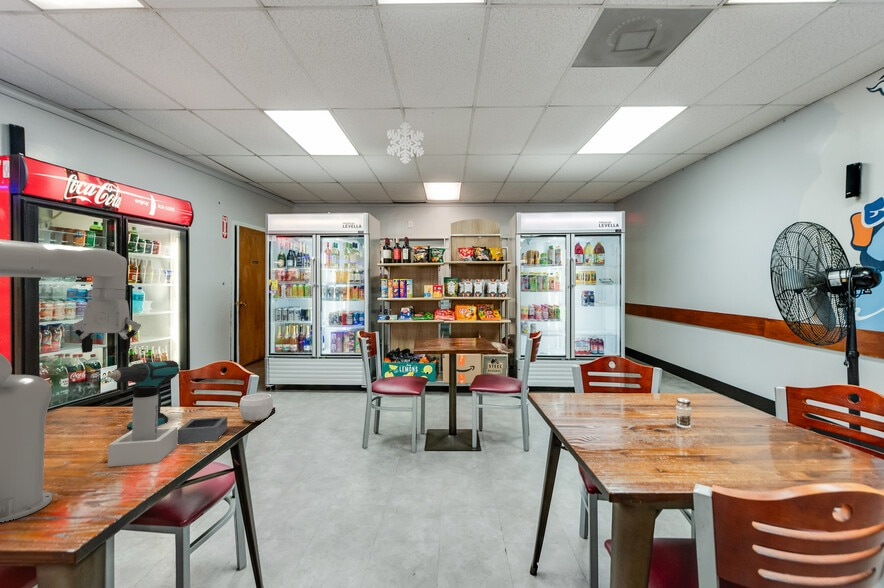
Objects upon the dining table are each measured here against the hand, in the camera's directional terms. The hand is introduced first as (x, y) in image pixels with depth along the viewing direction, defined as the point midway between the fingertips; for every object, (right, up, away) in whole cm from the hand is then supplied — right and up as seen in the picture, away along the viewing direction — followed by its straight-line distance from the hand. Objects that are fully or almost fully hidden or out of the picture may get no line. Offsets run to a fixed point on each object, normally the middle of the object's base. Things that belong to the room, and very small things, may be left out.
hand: (105, 352), depth 113 cm
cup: (+25, -35, +41) cm, 59 cm away
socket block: (+15, -34, +22) cm, 44 cm away
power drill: (-14, -34, +31) cm, 48 cm away
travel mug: (+7, -32, +6) cm, 33 cm away
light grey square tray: (+7, -34, +6) cm, 35 cm away
